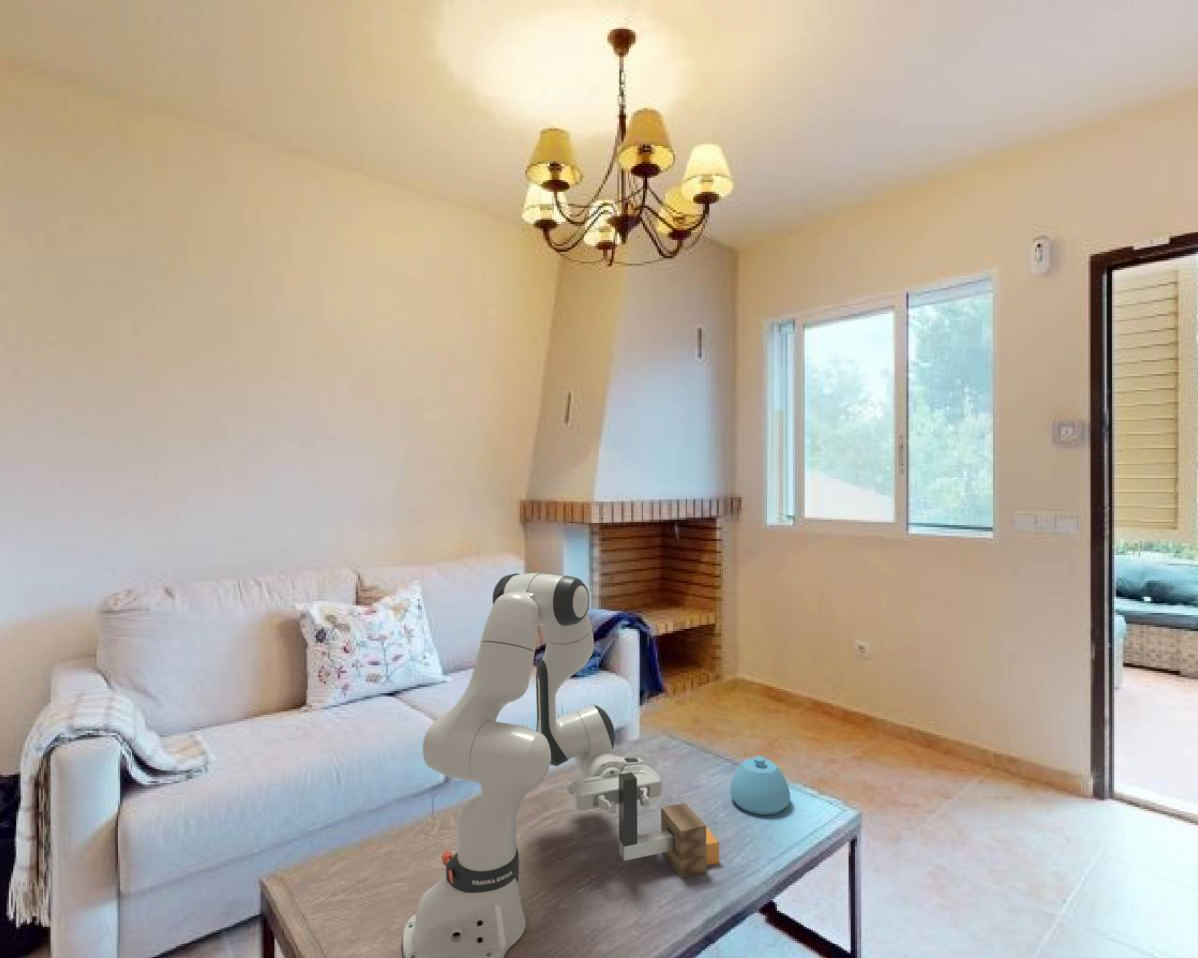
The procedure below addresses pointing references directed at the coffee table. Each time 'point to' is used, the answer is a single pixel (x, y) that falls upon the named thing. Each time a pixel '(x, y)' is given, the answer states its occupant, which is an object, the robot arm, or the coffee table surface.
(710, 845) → the block
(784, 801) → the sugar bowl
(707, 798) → the coffee table surface
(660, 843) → the grey l-shaped piece
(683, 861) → the bearing block
